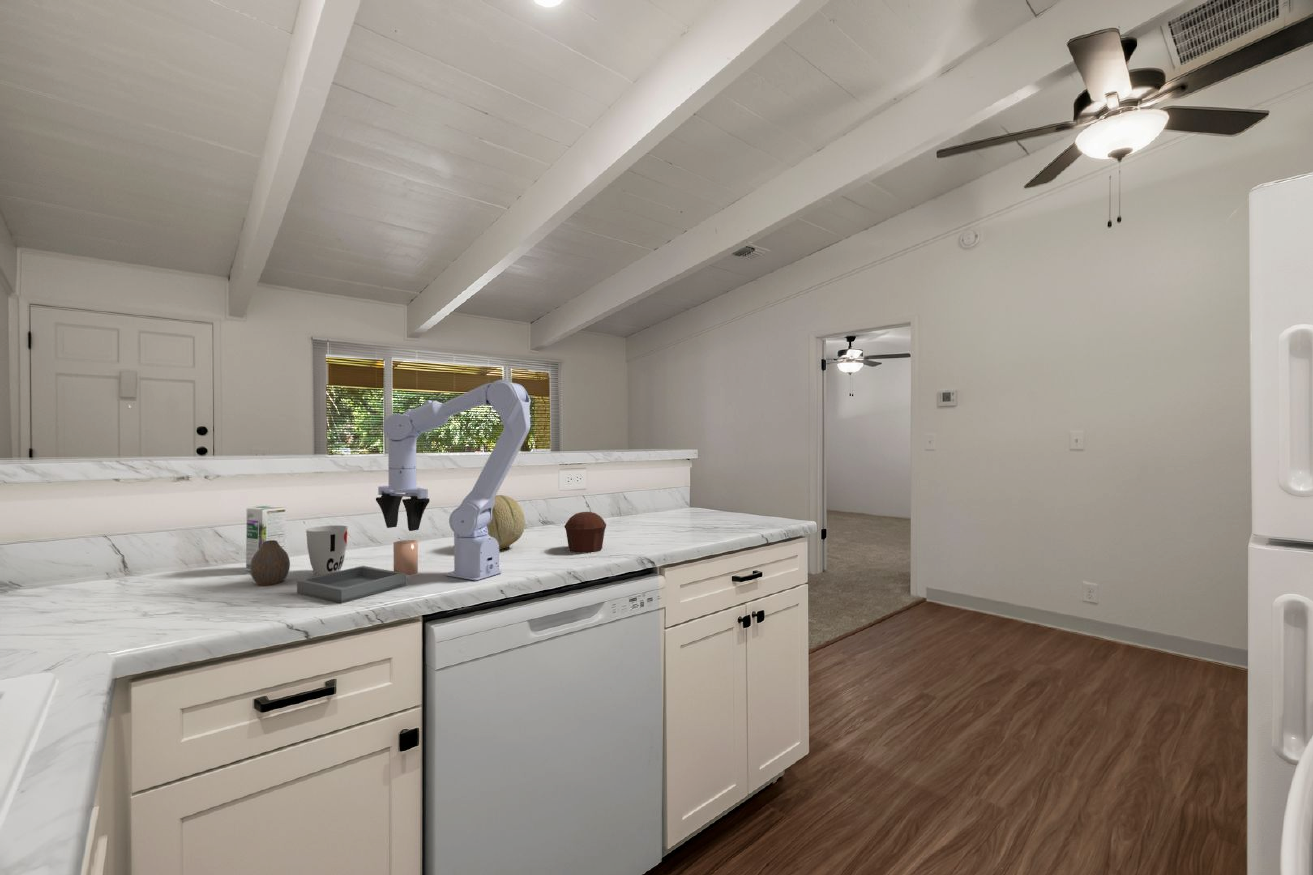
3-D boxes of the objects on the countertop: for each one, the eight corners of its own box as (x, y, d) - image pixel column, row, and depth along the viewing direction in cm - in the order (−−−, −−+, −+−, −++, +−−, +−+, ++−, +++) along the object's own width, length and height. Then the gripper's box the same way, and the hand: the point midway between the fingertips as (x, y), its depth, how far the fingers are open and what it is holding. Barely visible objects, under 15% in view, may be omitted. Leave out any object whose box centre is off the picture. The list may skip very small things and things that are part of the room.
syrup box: (244, 571, 130) (244, 507, 130) (270, 565, 135) (270, 504, 135) (261, 573, 128) (261, 508, 127) (287, 567, 133) (286, 505, 133)
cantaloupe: (517, 554, 148) (517, 496, 148) (461, 554, 148) (461, 496, 148) (530, 543, 163) (530, 490, 162) (479, 543, 163) (479, 490, 163)
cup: (329, 577, 124) (329, 531, 124) (297, 575, 126) (297, 530, 125) (356, 569, 132) (355, 525, 132) (325, 567, 134) (325, 524, 133)
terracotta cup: (422, 571, 129) (422, 540, 129) (403, 576, 125) (403, 544, 125) (407, 569, 132) (407, 538, 132) (388, 574, 127) (388, 542, 127)
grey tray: (406, 585, 118) (406, 573, 118) (341, 603, 106) (341, 589, 106) (362, 577, 124) (362, 565, 124) (297, 593, 112) (296, 580, 112)
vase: (297, 580, 122) (297, 539, 122) (263, 588, 115) (263, 545, 115) (277, 577, 125) (276, 537, 124) (242, 584, 118) (242, 542, 118)
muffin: (577, 544, 161) (577, 508, 161) (613, 546, 158) (613, 510, 157) (556, 552, 150) (556, 514, 150) (594, 555, 146) (594, 516, 146)
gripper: (365, 468, 128) (365, 528, 128) (408, 470, 121) (408, 534, 121) (393, 466, 134) (394, 524, 134) (435, 468, 127) (435, 529, 127)
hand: (402, 528), depth 128 cm, fingers open, 7 cm apart
